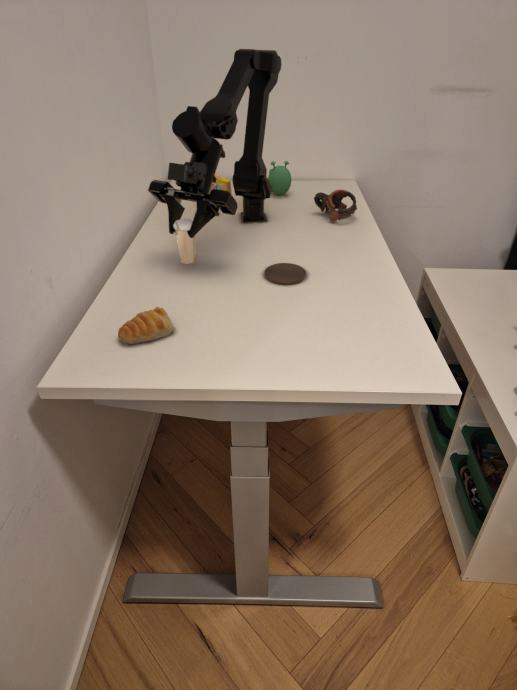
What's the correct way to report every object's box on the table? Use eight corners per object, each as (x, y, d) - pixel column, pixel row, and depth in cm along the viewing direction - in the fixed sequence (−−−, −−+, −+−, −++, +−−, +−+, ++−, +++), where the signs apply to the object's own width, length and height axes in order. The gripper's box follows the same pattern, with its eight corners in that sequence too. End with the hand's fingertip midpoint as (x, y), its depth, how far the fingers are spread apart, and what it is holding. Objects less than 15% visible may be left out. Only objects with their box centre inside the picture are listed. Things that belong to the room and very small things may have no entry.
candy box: (196, 195, 142) (194, 167, 138) (202, 193, 144) (200, 166, 139) (226, 210, 132) (225, 181, 127) (233, 208, 133) (232, 179, 128)
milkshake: (171, 264, 100) (166, 220, 94) (184, 254, 104) (179, 211, 98) (190, 268, 99) (185, 223, 93) (202, 257, 103) (198, 214, 97)
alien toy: (285, 189, 147) (287, 156, 141) (293, 197, 141) (295, 163, 135) (264, 191, 145) (264, 157, 139) (271, 199, 139) (272, 164, 133)
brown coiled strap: (355, 212, 132) (363, 192, 124) (345, 238, 128) (353, 218, 120) (315, 197, 133) (321, 177, 125) (304, 222, 129) (309, 202, 121)
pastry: (129, 352, 79) (125, 334, 77) (112, 335, 83) (108, 317, 81) (177, 332, 84) (174, 314, 82) (158, 317, 88) (156, 299, 86)
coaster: (261, 266, 104) (261, 264, 104) (301, 264, 105) (301, 261, 105) (267, 286, 97) (267, 283, 97) (309, 283, 98) (310, 280, 98)
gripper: (145, 139, 93) (121, 211, 92) (228, 148, 87) (203, 226, 86) (172, 168, 104) (150, 233, 103) (247, 179, 98) (225, 248, 96)
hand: (180, 235), depth 97 cm, fingers closed on milkshake, 4 cm apart
